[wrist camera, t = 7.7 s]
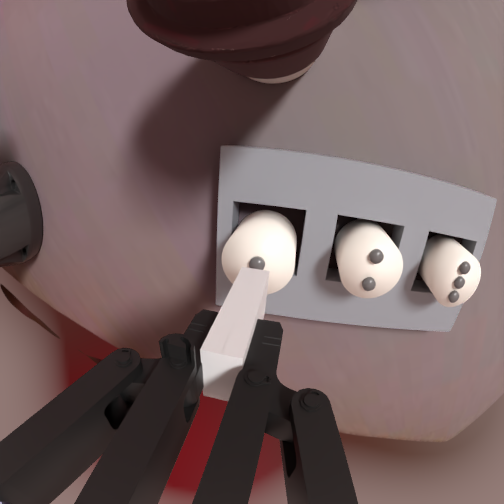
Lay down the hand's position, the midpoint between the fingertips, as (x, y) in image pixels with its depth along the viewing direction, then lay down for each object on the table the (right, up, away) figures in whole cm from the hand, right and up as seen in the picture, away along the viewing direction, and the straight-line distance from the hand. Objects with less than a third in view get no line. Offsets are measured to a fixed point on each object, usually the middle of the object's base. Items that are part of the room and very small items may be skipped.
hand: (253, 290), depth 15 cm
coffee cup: (+2, +19, +3) cm, 19 cm away
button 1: (+1, +3, +7) cm, 8 cm away
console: (+9, +3, +8) cm, 13 cm away
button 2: (+9, +3, +7) cm, 12 cm away
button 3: (+17, +2, +6) cm, 18 cm away
